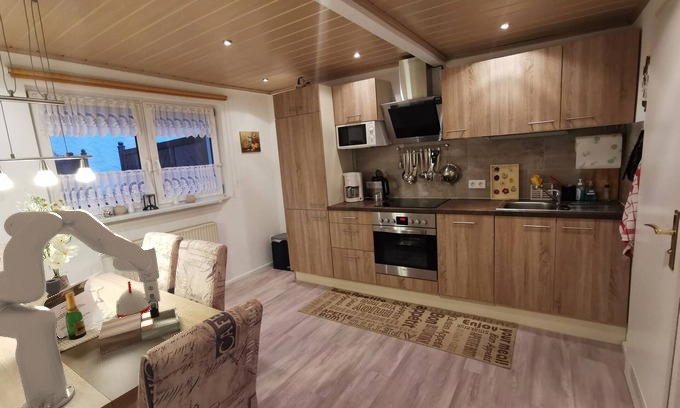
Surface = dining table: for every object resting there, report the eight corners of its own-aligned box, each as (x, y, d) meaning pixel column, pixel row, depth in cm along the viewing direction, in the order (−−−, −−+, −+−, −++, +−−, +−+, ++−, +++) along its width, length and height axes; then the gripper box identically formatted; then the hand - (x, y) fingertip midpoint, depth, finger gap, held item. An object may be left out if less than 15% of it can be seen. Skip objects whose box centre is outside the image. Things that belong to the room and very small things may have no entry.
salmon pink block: (142, 338, 133) (154, 335, 135) (141, 327, 133) (152, 324, 135) (143, 332, 138) (153, 329, 140) (141, 321, 137) (152, 319, 139)
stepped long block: (180, 330, 140) (178, 317, 139) (100, 353, 126) (97, 339, 125) (177, 315, 153) (175, 303, 152) (105, 335, 139) (102, 322, 138)
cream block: (143, 329, 141) (154, 326, 143) (142, 318, 140) (152, 315, 142) (144, 324, 145) (154, 321, 147) (142, 313, 144) (152, 311, 146)
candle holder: (50, 340, 138) (38, 284, 134) (59, 332, 144) (47, 279, 140) (68, 337, 139) (56, 282, 135) (75, 329, 145) (64, 277, 141)
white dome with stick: (149, 302, 170) (144, 275, 167) (150, 312, 158) (146, 283, 156) (117, 310, 162) (112, 282, 160) (116, 321, 151) (111, 291, 149)
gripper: (159, 279, 133) (165, 318, 135) (158, 268, 147) (163, 303, 150) (138, 284, 129) (145, 324, 132) (139, 271, 144) (145, 307, 146)
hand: (155, 312), depth 141 cm, fingers open, 9 cm apart
